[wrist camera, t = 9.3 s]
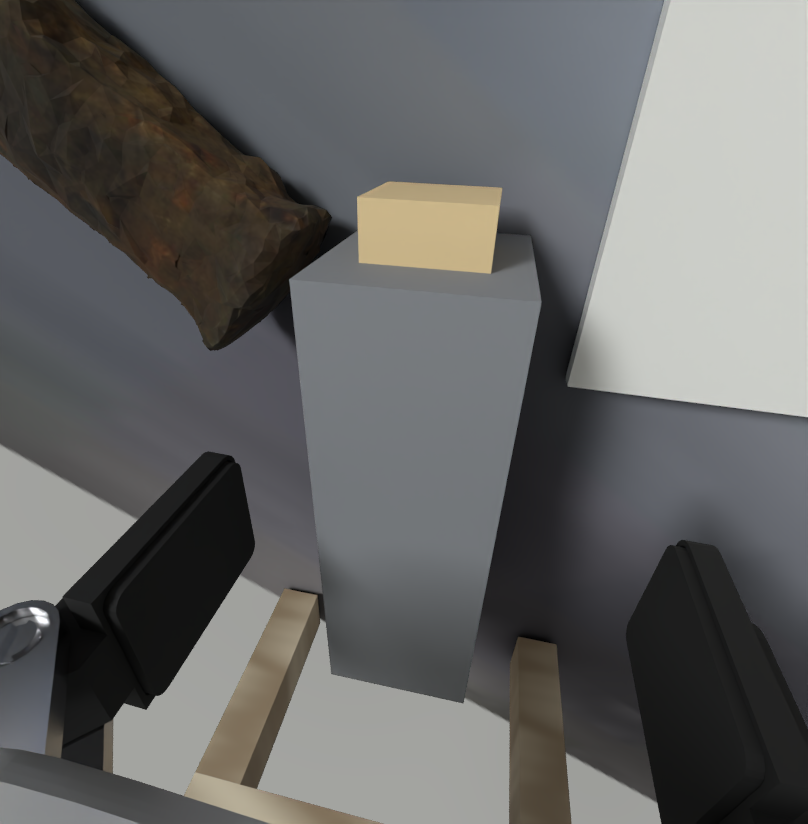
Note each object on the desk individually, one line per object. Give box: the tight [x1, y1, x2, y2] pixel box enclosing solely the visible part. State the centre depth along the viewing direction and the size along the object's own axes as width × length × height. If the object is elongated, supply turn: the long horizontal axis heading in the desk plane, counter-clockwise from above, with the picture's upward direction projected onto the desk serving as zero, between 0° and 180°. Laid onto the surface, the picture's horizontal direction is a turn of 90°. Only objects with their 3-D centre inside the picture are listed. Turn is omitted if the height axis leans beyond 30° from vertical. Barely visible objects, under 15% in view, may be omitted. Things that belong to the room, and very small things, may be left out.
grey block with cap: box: [289, 182, 542, 703], centre depth 12 cm, size 4×13×5 cm, turn 179°
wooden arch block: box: [184, 589, 571, 824], centre depth 15 cm, size 12×2×12 cm, turn 88°
